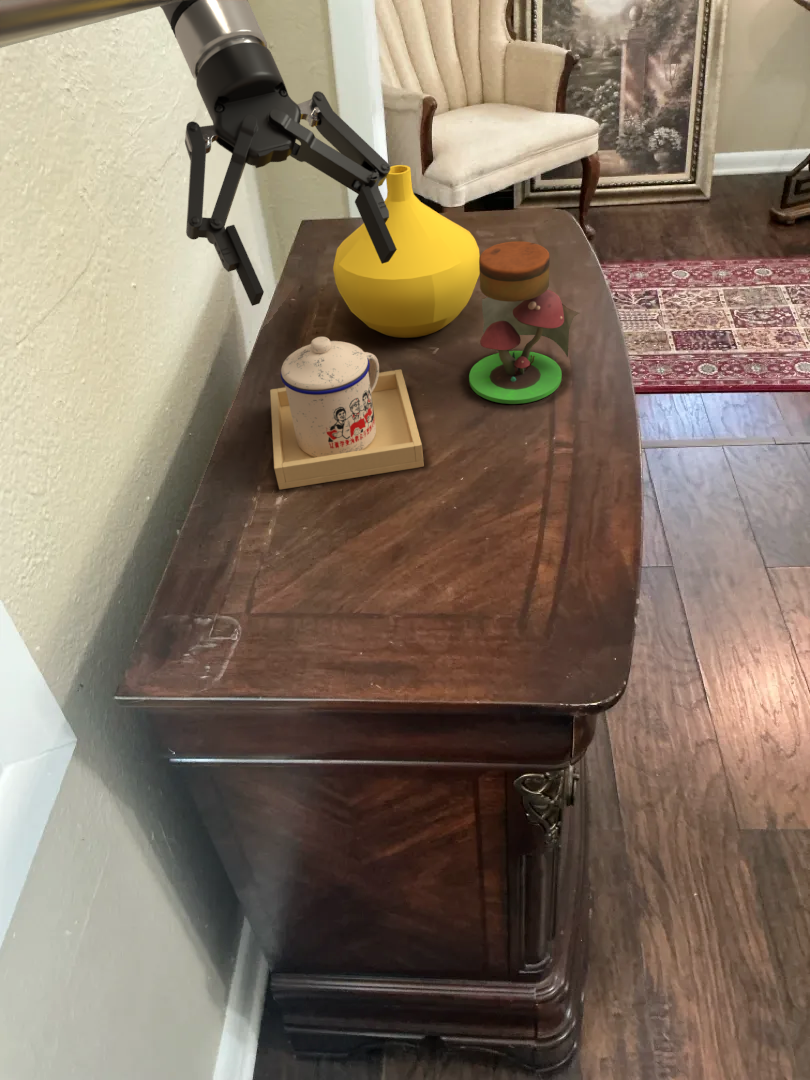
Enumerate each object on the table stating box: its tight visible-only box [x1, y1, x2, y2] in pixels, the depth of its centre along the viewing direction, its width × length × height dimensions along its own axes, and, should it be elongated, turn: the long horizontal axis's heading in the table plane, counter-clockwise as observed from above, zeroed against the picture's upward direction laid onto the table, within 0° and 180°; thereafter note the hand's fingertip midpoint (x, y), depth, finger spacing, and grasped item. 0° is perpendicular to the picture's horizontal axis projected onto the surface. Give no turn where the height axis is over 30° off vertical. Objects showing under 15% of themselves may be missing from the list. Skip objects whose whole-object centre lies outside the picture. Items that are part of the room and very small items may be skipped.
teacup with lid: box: [280, 336, 380, 457], centre depth 90 cm, size 12×9×12 cm
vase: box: [332, 164, 481, 339], centre depth 106 cm, size 18×18×19 cm
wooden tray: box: [269, 369, 425, 491], centre depth 94 cm, size 15×15×3 cm
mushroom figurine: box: [468, 240, 580, 405], centre depth 95 cm, size 12×13×15 cm
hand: (325, 277), depth 80 cm, fingers open, 13 cm apart
